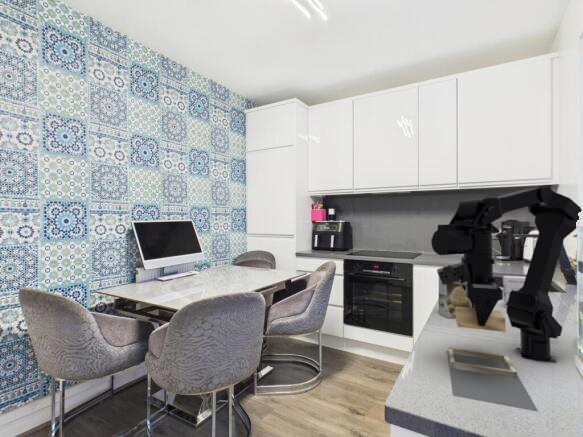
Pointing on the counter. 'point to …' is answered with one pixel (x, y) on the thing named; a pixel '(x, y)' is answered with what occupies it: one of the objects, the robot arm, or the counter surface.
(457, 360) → the mat
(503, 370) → the frame
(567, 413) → the counter surface
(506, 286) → the ink box
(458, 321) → the tile
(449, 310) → the coffee box
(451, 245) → the robot arm
